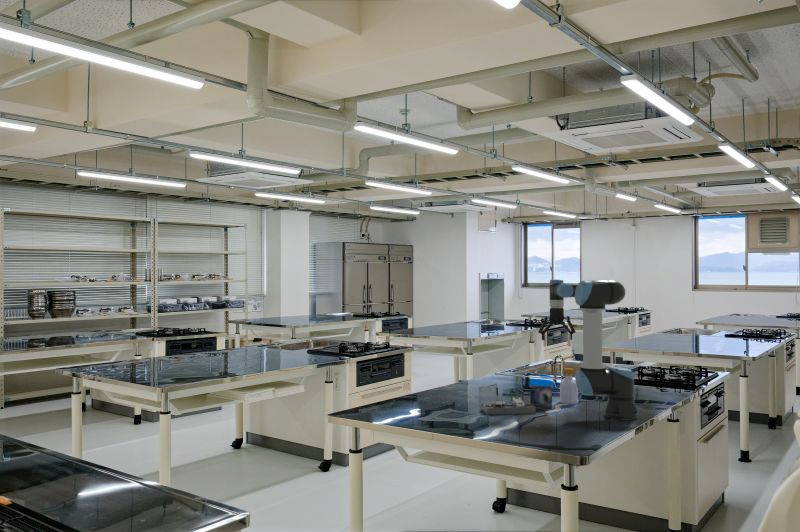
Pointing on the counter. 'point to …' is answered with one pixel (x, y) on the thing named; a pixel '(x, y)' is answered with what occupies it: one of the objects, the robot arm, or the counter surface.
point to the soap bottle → (568, 387)
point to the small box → (541, 396)
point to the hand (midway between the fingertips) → (557, 346)
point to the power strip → (510, 408)
